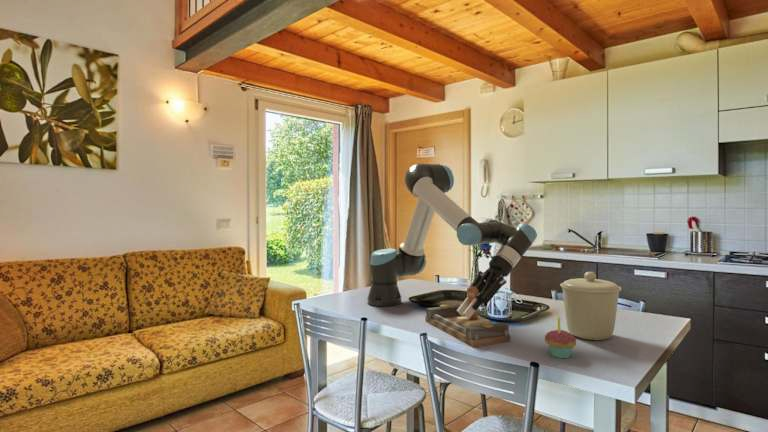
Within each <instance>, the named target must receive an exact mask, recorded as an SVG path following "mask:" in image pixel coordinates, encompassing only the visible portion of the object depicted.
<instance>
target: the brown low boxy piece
mask: <svg viewBox="0 0 768 432" xmlns="http://www.w3.org/2000/svg"><path fill="white" fill-rule="evenodd" d="M460 306H461V304H452V305H449V304H440V305H439V306H437V307H435V306H434V307H427V308H426V315H425V318H424V319H425V320H424V321H425V322H426V323H429V324H430V325H432V326H434V327H435V328H438V329H439V330H441V331H443V332H445V333H446V334H448V335H450V336H453V337H454V338H455V339H457V340H459V341H460V342H463V343H465V344H466V345H469V346H471V347H472V348H475V347H476V348H477V347H481V346H482V345H483V346H488V344H489V345H494V344H493V343H496V344H500V343H501V342H502V343H506V342H507V343H509V342H511V340H512V339H511V337H512V336H511V334H509V330H510V329H509V324H508V323H505V322H496V323H491V322H490V323H482V325H480V326H473V327H466V328H464V327H462V326H460V325H458V324H456V317H462V315H461V314H460V313H459V312H458V311H457V310H458V308H459V307H460ZM463 316H465V315H463Z"/></svg>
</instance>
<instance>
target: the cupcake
mask: <svg viewBox="0 0 768 432" xmlns="http://www.w3.org/2000/svg"><path fill="white" fill-rule="evenodd" d="M544 341H545V343H546V344H547V345H548V347H549V350H550V353H551V356H553V357H554V358H555V357H556V358H557V359H568V358H570V356H571V352H572V350H573V348H574V347H575V346H576V345H577V338H576V336H574V335H572V334H571V333H570V332H569V331H567V330H562V329H561V318H560V315H558V316H557V329H555V330H550V331H548V332H547V333H546V334H545V335H544Z"/></svg>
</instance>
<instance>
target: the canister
mask: <svg viewBox="0 0 768 432" xmlns="http://www.w3.org/2000/svg"><path fill="white" fill-rule="evenodd" d="M583 277H584V278H580V277H579V278H570V279H567V280H564V281H563V282H561V283H560V284H559V286H560V287H561V288H562V297H563V305H564V306H563V307H564V312H565V322H566V327H567V330H568V333H570V334H572V335H573V336H574V337H575V338H580V339H583V340H589V341H603V340H607V339H609V338H611V336H612V335H613V334H614V331H615V327H616V326H615V325H616V318H617V311H618V305H619V304H618V303H619V293H620V292H621V290H622V287H621V286H619V285H618V284H616V283H615V282H614V281H613V282H612V281H609V280H606V279H605V280H604V279H601V278H600V279H598V278H597V275H596V273H595V272H593V271H586V272H584V274H583Z"/></svg>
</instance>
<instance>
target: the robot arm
mask: <svg viewBox="0 0 768 432" xmlns="http://www.w3.org/2000/svg"><path fill="white" fill-rule="evenodd" d="M404 175H405V176H404V184H405V186H406V189H407V190H408V191H409V192H410V194H411V195H413V196H414V197H415V198H417V200H416V204H415V207H414V211H413V213H412V217H411V219H410V220H411V221H410V223H409V225H408V229H407V233H406V236H405V239H404V241H403V242H401V243H400V244H399V247H398V250H397V249H396V248H383V249H378V250H375V251H372V253H371V254H370V262H369V263H370V288H369V291H368V295H367V304H368V305H371V306H374V307H392V306H398V305H400V304H401V303H402V295H401V292H400V289H399V286H398V278H400V277H407V276H414V275H415V276H416V275H418V274H420V273H422V272H423V271H424V269H425V267H426V265H427V259H426V257H427V256H426V254H425V249H424V248H423V247H424V243H425V241H426V238H427V235H428V233H429V229H430V227H431V224H432V221H433V217H434V214H435V213H436V214H437V215H438V216H439V217H440V218H441V219H442V220H443V221H444V222H446V223H447V225H449V226H450V227H451V228H452V229H453V230H454V231H455V232H456V237H457V240H458V242H459V243H460V244H461V245H464V246H477V245H484V244H486V245H487V244H495V243H496V244H499V245H501V247H500V248H499V249H498V250H497V252H496V253H495V255H493V257H492V258H491V260H490V261H489V263H488V266H489V267H488V268H487V269H486V270H485V271H483V272H482V271H481V270H479V271H478V273H477V275H476V277H475V278H474V279H473V281H472V283H471V284H470V286H475V287H476V288H477V289H478V290H479V294H478V296H476V298H477V299H476V298H474V300H473V301H472V302H471V304H470V305H469V306H468V295H467V297H466V298H465V299H464V300H463V302H462V303H461V304H460V305H461V306H460V307H459V308H458V310H457V311H458V312H459V313H460V314H461V315H462V316H463V315H465V316H466V317H467V318H468V319H470V317H471V316H472V315H473V313H474V312H475V311H476V310H477V309H479V308H480V307H481V305H483V304H484V303H486V304H488V303H490V301H491V300H492V299H493V297H495V295H496V294H497V293H498V292H499V290H500V289H501V288H502V287H504V286H505V285H506V284H507V280H506V279H505V278H504V277H508V276H509V275H510V274H511V272H512V271H513V269H514V268H515V266H516V265H517V264H518V262H519V261H520V260H521V259H522V258H523V257H524V255H525V254H526V252H527V251H528V250H529V249H530V248H531V246H533V244H534V242H535V241H536V239H537V237H538V233H537V230H536V229H535V228H534V227H533V226H531V225H530V224H529V223H525V222H523V223H522V222H521V223H519V224H518V225H517V226H516V227H515V226H512V225H509V224H507V223H504V222H501V221H500V220H497V219H493V218H487V219H485V220H484V221H483V222H478V221H477V220H476V219H474V218H473V217H472V216H471V215H470V214H469V213H468V212H467V211H465V210H464V209H463V208H462V207H460V205H458V204H457V203H456V202H455V201H454V200H453V199H452V198H451V197H450V196H448V195H447V194H446V193H448V192H449V191H451V190H452V189H453V187H454V183H455V178H454V174H453V171H452V170H451V168H450V167H449V166H447V165H444V164H440V163H437V164H435V163H434V164H433V163H416V164H413V165H412V166H410V167H409V168H408V169H407V170H406V172H405V174H404ZM470 286H469V287H470ZM465 294H467V290H465Z"/></svg>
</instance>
